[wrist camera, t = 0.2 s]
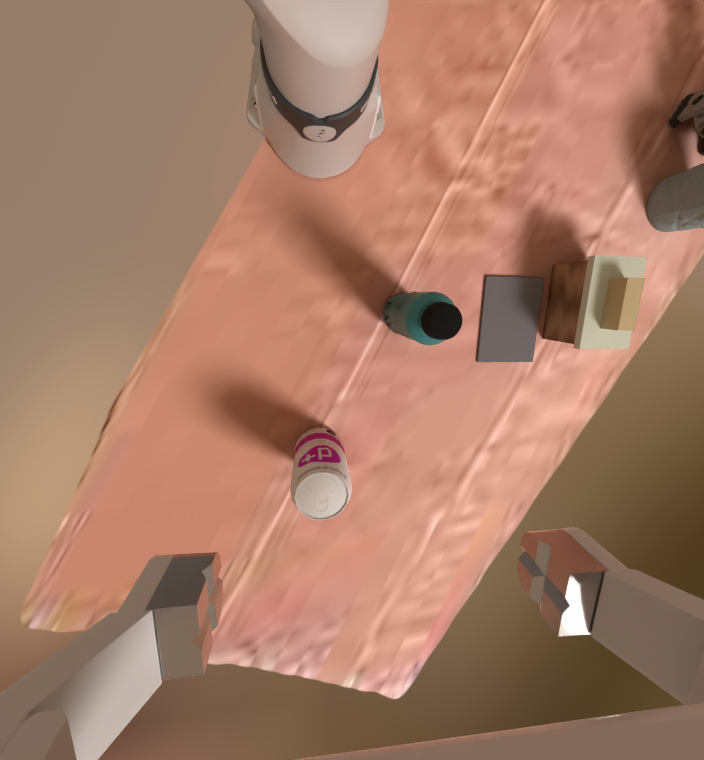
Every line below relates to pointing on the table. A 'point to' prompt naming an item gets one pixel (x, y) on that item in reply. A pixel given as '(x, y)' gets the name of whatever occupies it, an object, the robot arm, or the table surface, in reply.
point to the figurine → (691, 112)
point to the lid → (609, 302)
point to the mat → (509, 319)
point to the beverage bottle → (423, 316)
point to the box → (564, 301)
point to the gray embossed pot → (678, 201)
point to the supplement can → (320, 475)
